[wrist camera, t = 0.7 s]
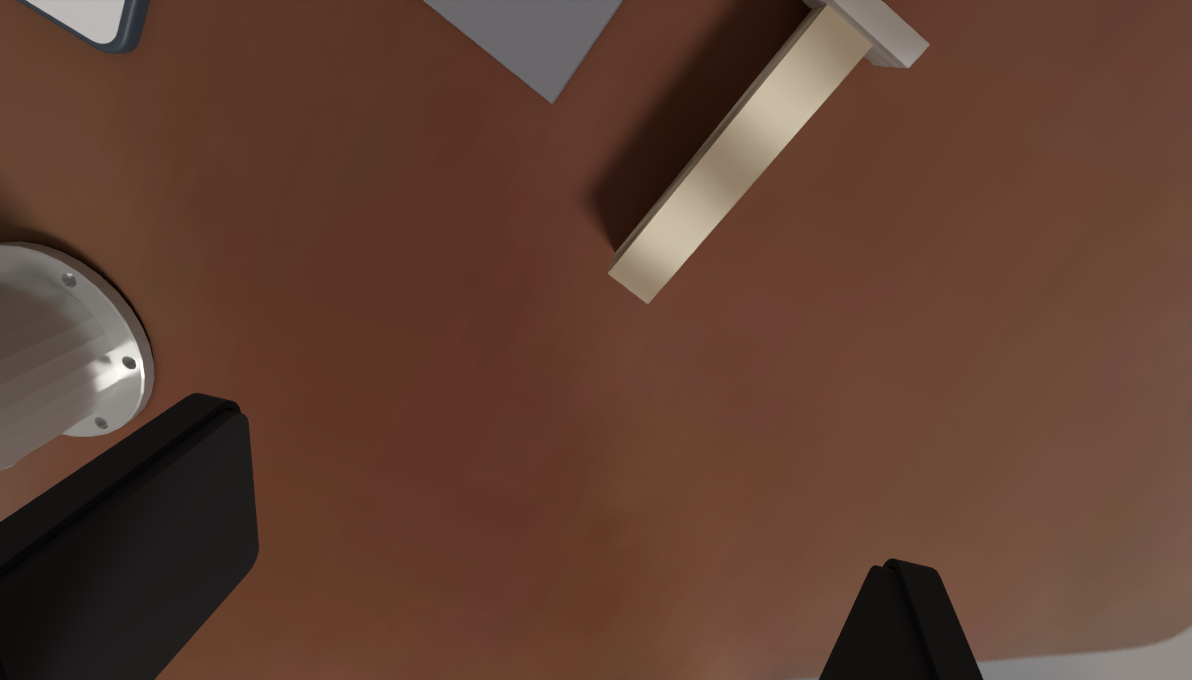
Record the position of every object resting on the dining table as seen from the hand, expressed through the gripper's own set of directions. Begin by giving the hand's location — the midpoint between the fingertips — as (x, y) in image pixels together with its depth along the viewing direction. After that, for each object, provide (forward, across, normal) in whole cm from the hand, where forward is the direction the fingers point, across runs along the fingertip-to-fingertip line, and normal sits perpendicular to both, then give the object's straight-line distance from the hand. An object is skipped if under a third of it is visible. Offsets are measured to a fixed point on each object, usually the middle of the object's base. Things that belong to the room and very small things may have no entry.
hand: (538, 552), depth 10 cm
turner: (+25, -2, -2) cm, 26 cm away
